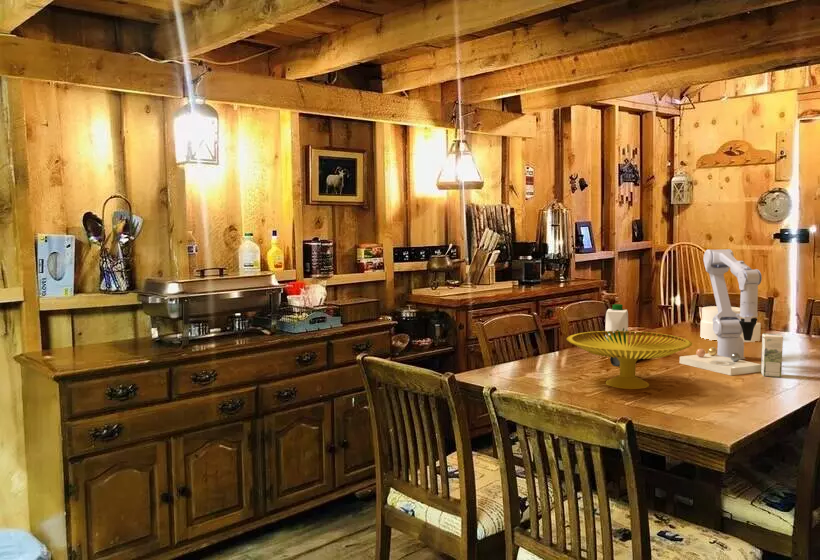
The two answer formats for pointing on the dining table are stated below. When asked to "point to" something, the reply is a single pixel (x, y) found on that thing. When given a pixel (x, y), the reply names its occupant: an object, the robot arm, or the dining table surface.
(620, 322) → the milk carton
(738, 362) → the hole plate
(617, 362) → the flashlight
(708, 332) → the container
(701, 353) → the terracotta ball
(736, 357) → the steel ball
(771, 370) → the syrup box
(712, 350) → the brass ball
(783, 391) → the dining table surface
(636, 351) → the cake stand
